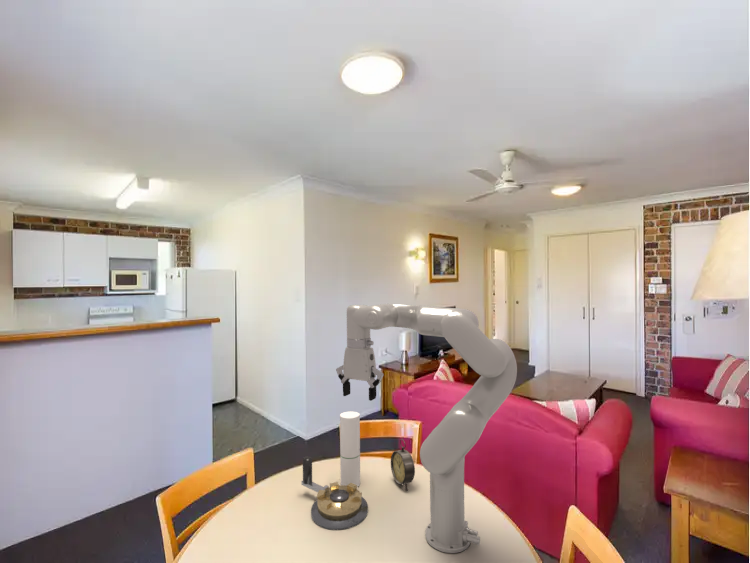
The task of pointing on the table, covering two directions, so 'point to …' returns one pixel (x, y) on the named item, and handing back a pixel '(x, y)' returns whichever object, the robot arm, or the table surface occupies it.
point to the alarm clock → (402, 466)
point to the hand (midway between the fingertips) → (359, 397)
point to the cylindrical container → (350, 448)
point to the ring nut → (333, 496)
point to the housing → (339, 523)
